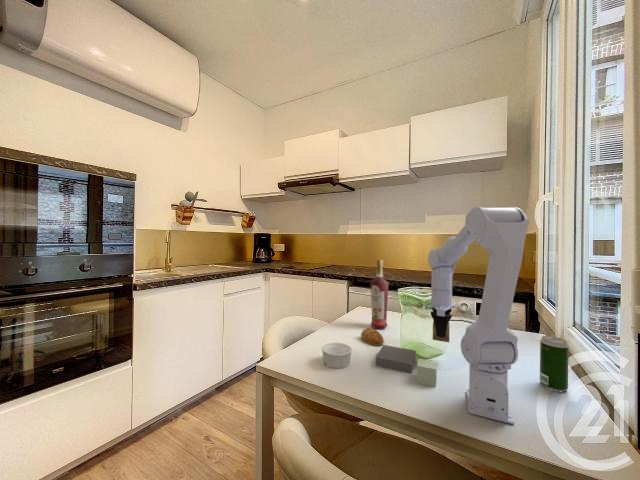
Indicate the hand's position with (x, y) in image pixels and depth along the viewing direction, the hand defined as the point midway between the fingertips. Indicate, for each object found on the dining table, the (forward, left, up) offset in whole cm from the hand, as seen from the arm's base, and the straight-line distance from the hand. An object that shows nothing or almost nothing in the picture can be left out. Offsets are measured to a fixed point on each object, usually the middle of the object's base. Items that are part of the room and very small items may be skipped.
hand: (441, 333), depth 81 cm
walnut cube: (0, 0, -1) cm, 1 cm away
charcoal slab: (-7, +12, -9) cm, 16 cm away
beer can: (-3, -26, -8) cm, 28 cm away
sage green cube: (-14, +3, -8) cm, 17 cm away
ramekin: (-15, +28, -9) cm, 33 cm away
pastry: (+7, +23, -9) cm, 25 cm away
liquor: (+22, +24, -8) cm, 34 cm away
